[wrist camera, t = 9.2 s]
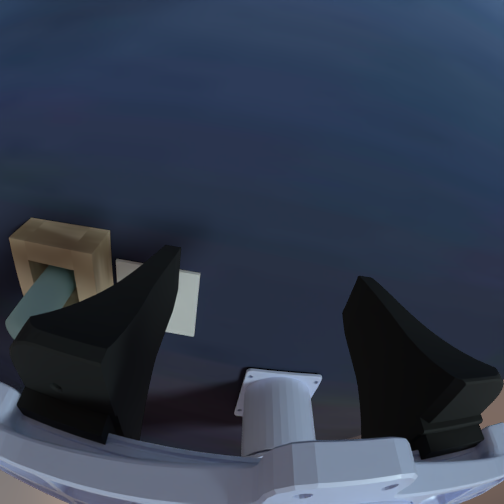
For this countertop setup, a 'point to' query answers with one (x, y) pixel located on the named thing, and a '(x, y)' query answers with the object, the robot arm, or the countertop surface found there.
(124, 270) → the mat
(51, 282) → the peg
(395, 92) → the countertop surface
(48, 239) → the hole block
